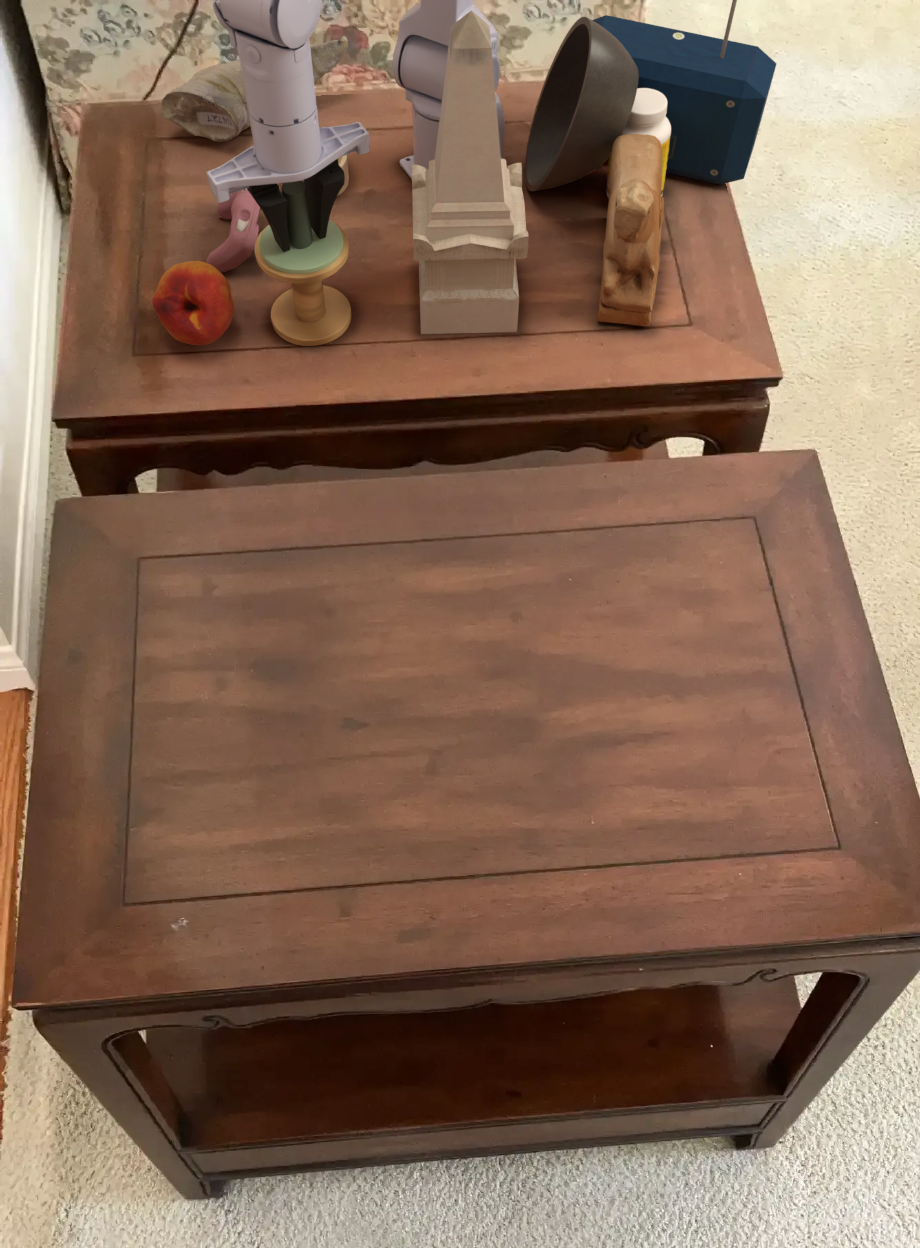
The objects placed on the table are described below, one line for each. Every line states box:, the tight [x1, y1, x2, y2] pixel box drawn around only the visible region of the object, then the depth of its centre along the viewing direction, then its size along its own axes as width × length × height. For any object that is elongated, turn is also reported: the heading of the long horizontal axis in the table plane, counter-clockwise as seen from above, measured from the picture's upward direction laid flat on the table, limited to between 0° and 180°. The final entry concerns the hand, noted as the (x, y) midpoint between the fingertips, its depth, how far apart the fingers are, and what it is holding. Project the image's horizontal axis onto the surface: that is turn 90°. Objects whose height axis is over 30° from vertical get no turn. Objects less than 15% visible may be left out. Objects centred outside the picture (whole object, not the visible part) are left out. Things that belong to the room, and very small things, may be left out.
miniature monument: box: [411, 10, 530, 335], centre depth 104 cm, size 10×10×30 cm
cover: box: [259, 181, 343, 274], centre depth 105 cm, size 8×8×6 cm
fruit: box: [151, 260, 235, 346], centre depth 111 cm, size 8×8×8 cm
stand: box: [254, 219, 352, 347], centre depth 111 cm, size 9×9×9 cm
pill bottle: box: [605, 88, 671, 199], centre depth 121 cm, size 6×6×11 cm
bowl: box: [524, 16, 639, 192], centre depth 117 cm, size 12×22×6 cm
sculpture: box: [597, 134, 665, 327], centre depth 112 cm, size 6×17×15 cm, turn 172°
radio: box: [591, 0, 777, 186], centre depth 121 cm, size 21×9×20 cm, turn 72°
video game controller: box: [205, 189, 262, 273], centre depth 118 cm, size 10×5×7 cm, turn 179°
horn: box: [160, 35, 349, 143], centre depth 128 cm, size 19×12×10 cm
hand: (300, 238), depth 107 cm, fingers open, 3 cm apart
